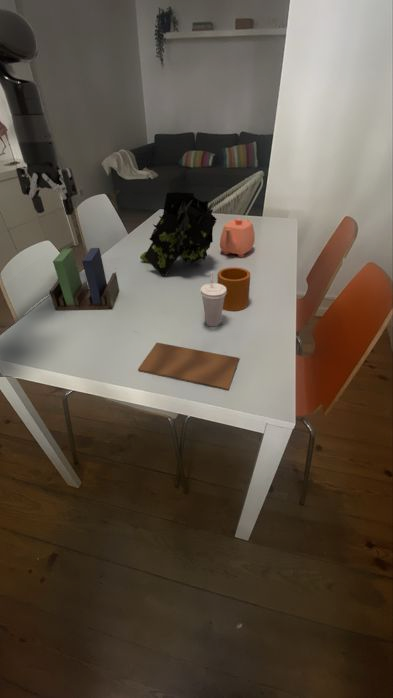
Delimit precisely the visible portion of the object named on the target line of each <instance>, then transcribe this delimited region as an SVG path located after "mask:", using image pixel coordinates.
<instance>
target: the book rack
mask: <svg viewBox="0 0 393 698" xmlns="http://www.w3.org/2000/svg"><path fill="white" fill-rule="evenodd" d="M118 281H119V280H118V276H117V272H112V274H111V275H110V278H109V280H108V282H107V286H106V288H105V290H104V292H103V294H102V296H101V301H102V305H93V302H92V298H91V295H90V291H89V287H88V283H87V281H83V282H82V285H81V287H80V289H79V290H78V292H77V294H76V295H75V297H74V301H75V305H66V302H65V299H64V296H63V292H62V289H61V286H60V283H59V280H58V279H57V281H56V282H55V283H54V284H53V286H51V288H50V290H49V291H48V292H49V295H50V298H51V301H52V304H53V308H54V310H55V311H97V310H98V311H99V310H113V308H114V306H115V304H116V301H117V299H118V296H119V293H120V286H119V282H118Z"/></svg>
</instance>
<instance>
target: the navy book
mask: <svg viewBox="0 0 393 698" xmlns="http://www.w3.org/2000/svg"><path fill="white" fill-rule="evenodd" d="M81 262H82V263H81V264H82V266H83V270H84V275H85V279H86V282H87V285H88V289H89V291H90V295H91V298H92V302H93V305H102V301H101V296H102V294H103V292H104V290H105V288H106V286H107V284H108V282H107V277H106V273H105V268H104V264H103V263H104V262H103V258H102V252H101V249H100V247H90V248H89V250H88V251H87V252H86V254H85V256H84V257H83V258H82V260H81Z"/></svg>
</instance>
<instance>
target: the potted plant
mask: <svg viewBox="0 0 393 698" xmlns="http://www.w3.org/2000/svg"><path fill="white" fill-rule="evenodd" d="M213 203H214V201H212V202H211V204H210V206H209V201H202V200H200V199H199V197H197V198H196V197H195V193H194V192H178V191H175V192H166V195H165V201H164V206H163V213H162V215H158V217H159V218H160V219H159V220H158V222H157V223H156V225H155V224H153V227H154V228H153V231H152V233H151V235H150V238H149V240H150V241H151V244H150V245H149V248H148V249H147V251H145V252H143V253H142V254H140V256H139V258H140V260H141V261H143V262H145V263H148V264H150V265H151V266H152V267H153V268H154V269H155V270H156V271H157V272H159V274H160V275H161V276H163V277H164V278H166V276H167V275H168V273H169V271H171V269H172V267H173V265H174V264H175V263H176V261H177V260H178V259H179V257H180V258H181V259H182V261H183V262H184V263H188V262H189V263H190V265H193V264H195V263H196V262H199V261H200V264H201V265H202V261H204V262H205V261H206V257H207V256H208V252H207V251H208V250H209V249H210V247H211V244H212V243H214V240H213V237H214V236H213V231H214V226H216V223H217V220H218V219H217V218H216V217H215V216H214V215H213V211H214V208H212V206H213Z"/></svg>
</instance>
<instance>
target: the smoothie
mask: <svg viewBox="0 0 393 698" xmlns="http://www.w3.org/2000/svg"><path fill="white" fill-rule="evenodd" d="M209 275H210V276H209V278H210V279H209V280H210V283H206V284H204V285H202V286H201V288H200V295H201V297H202V303H203V312H204V318H205V324H206V325H207V326H209V327H218V326H219V325H220V324H221V320H222V315H223V314H222V313H223V310H224V309H223V303H224V298H225V295H226V293H227V292H226V287H225V286H223V285H221V284H218V282H217V283H216V282H214V280H213V279H214V272H213V271H210V274H209ZM213 282H214V283H213Z"/></svg>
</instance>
